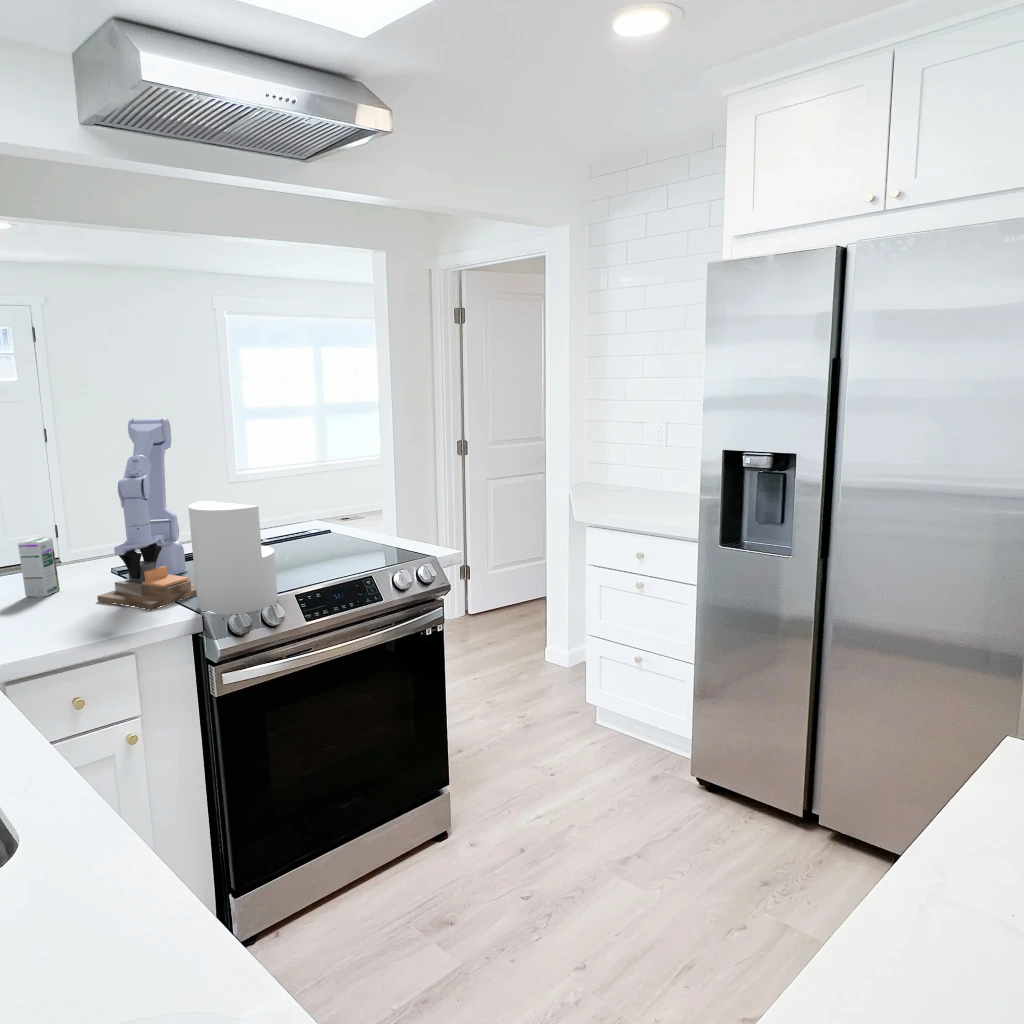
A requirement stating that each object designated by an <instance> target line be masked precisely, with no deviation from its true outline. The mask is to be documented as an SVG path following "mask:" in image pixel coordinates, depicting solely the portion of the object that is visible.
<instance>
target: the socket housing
mask: <svg viewBox="0 0 1024 1024" xmlns="http://www.w3.org/2000/svg"><path fill="white" fill-rule="evenodd" d="M114 589H115V590H113V591H108V592H106V593H102V594H98V595H97V602H99V601H101V602H100V603H105V602H108V603H107V604H111V603H116V604H115V605H117V604H123V605H129V606H135V607H139V608H138V609H141V608H145V609H144V610H147V609H150V610H149V611H153V610H152V609H154V610H156V609H155V608H157V609H159V608H158V607H160V606H163V605H166V606H168V605H167V604H169V605H171V604H170V603H172V604H174V603H173V602H175V601H178V600H180V599H184V598H187V597H189V598H192V597H195V596H197V594H196V583H195V582H191V580H186V581H183V582H180V583H177V584H173V585H170V586H167V587H164V588H163V587H156V586H149V585H142V584H138V583H131V582H129V577H128V578H125V579H121V580H117V581H115V582H114ZM194 595H195V596H194ZM191 596H192V597H191ZM187 599H188V598H187ZM184 600H185V599H184ZM178 602H179V601H178ZM175 603H176V602H175ZM123 605H122V606H123ZM129 606H128V607H129ZM135 607H134V608H135ZM163 607H164V606H163ZM160 608H161V607H160Z"/></svg>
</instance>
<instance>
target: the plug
mask: <svg viewBox="0 0 1024 1024" xmlns="http://www.w3.org/2000/svg"><path fill="white" fill-rule="evenodd" d="M126 568H127V567H126ZM155 568H156V567H155V562H150V561H144V560H140V579H132V578H131V576H130V573H129V571H128V568H127V571H128V578H129V582H131V583H138V584H142V582H144V581H145V575H144V571H148V570H151V569H155Z"/></svg>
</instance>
